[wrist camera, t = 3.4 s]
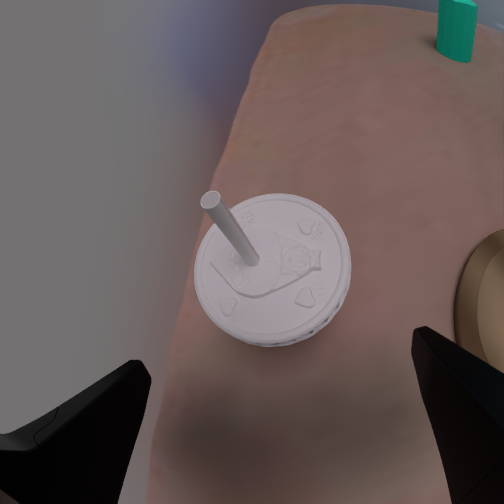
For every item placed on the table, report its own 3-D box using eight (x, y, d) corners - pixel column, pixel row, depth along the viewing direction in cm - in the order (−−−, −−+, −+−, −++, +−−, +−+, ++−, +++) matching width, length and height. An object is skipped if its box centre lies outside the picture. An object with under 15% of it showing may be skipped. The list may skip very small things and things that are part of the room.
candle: (440, 41, 28) (442, -20, 18) (472, 55, 26) (479, -6, 15) (432, 51, 28) (434, -17, 17) (467, 66, 25) (476, -1, 14)
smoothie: (256, 269, 22) (157, 134, 9) (343, 267, 20) (344, 105, 8) (249, 355, 19) (106, 314, 7) (343, 358, 17) (370, 327, 5)
